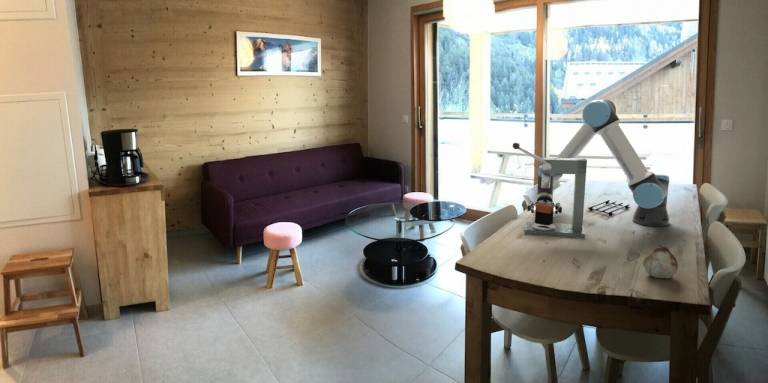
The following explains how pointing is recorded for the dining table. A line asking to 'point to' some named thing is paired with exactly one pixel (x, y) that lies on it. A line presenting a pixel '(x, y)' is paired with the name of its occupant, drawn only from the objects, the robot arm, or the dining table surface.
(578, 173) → the arbor press
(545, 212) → the battery
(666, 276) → the fruit
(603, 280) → the dining table surface
